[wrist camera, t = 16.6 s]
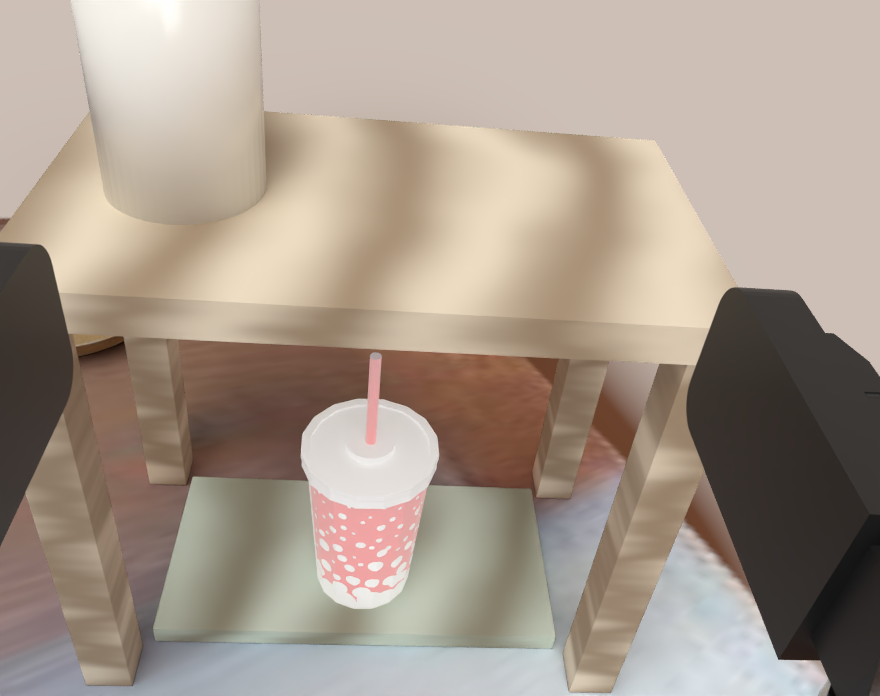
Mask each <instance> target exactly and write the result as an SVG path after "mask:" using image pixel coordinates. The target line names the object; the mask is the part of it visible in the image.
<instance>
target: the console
mask: <svg viewBox="0 0 880 696" xmlns="http://www.w3.org/2000/svg"><path fill="white" fill-rule="evenodd" d="M264 130H265V156H266V181H267V187H266V192H265V194H264V196H263V197H262V199H261V200H260V201H259V202H258V203H257V204H256V205H254V206H253V207H252V208H250V209H248V210H247V211H245V212H243V213H241V214H238V215H236V216H233V217H230V218H227V219H224V220H219V221H215V222H209V223H203V224H193V225H169V224H159V223H153V222H147V221H143V220H139V219H136V218H133V217H130V216H128V215H126V214H124V213H122V212H120V211H118V210H117V209H115V208H114V207H113V206H112V205H110V203H109V202H108V201H107V200H106V197H105V195H104V190H103V184H102V179H101V173H100V167H99V162H98V156H97V150H96V144H95V139H94V133H93V127H92V122H91V116H90V112H89V113H88V114H87V116H86V117H85V118H84V120H83V121H82V122H81V124H80V125H79V127H78V128H77V129H76V131H75V132H74V133H73V135H72V136H71V137H70V139H69V140H68V141H67V143H66V144H65V145H64V147H63V148H62V150H61V151H60V152H59V154H58V155H57V157H56V158H55V159H54V161H53V162H52V163H51V165H50V166H49V167H48V169H47V170H46V171H45V173H44V174H43V175H42V177H41V178H40V179H39V181H38V182H37V184H36V185H35V186H34V188H33V189H32V190H31V192H30V193H29V195H28V196H27V197H26V198H25V200H24V201H23V202H22V204H21V205H20V207H19V208H18V209H17V211H16V212H15V213H14V215H13V216H12V217H11V219H10V220H9V221H8V223H7V224H6V226H5V227H4V228H3V230H2V231H1V232H0V242H9V243H26V244H39V245H42V246H43V247H44V248H45V249H46V250H47V252H48V253H49V256H50V258H51V261H52V265H53V269H54V274H55V278H56V282H57V287H58V291H59V295H60V300H61V304H62V308H63V313H64V317H65V322H66V326H67V330H68V335H69V339H70V343H71V348H72V353H73V381H72V388H71V392H70V396H69V399H68V402H67V404H66V407H65V409H64V411H63V413H62V415H61V417H60V419H59V422H58V424H57V426H56V428H55V430H54V432H53V434H52V437H51V439H50V441H49V443H48V445H47V447H46V449H45V452H44V454H43V456H42V458H41V460H40V462H39V464H38V467H37V469H36V471H35V473H34V475H33V477H32V479H31V482H30V484H29V486H28V488H27V490H26V492H25V494H26V497H27V500H28V503H29V506H30V510H31V513H32V516H33V519H34V522H35V525H36V528H37V532H38V535H39V538H40V541H41V544H42V547H43V551H44V554H45V557H46V560H47V563H48V566H49V569H50V573H51V576H52V579H53V582H54V585H55V588H56V591H57V595H58V598H59V601H60V604H61V607H62V610H63V614H64V617H65V620H66V623H67V626H68V629H69V632H70V636H71V639H72V642H73V645H74V648H75V651H76V654H77V658H78V661H79V664H80V667H81V670H82V673H83V677H84V680H85V683H86V685H107V686H132V685H133V681H134V677H135V674H136V670H137V666H138V663H139V659H140V655H141V651H142V648H143V643H142V639H141V634H140V630H139V625H138V621H137V617H136V612H135V608H134V603H133V599H132V594H131V590H130V586H129V581H128V577H127V572H126V568H125V563H124V559H123V555H122V550H121V546H120V541H119V537H118V532H117V528H116V524H115V519H114V515H113V510H112V506H111V501H110V497H109V492H108V488H107V484H106V479H105V475H104V470H103V466H102V461H101V457H100V453H99V448H98V444H97V439H96V435H95V430H94V426H93V422H92V417H91V413H90V408H89V404H88V399H87V395H86V391H85V386H84V382H83V377H82V373H81V368H80V364H79V359H78V355H77V351H76V346H75V342H74V337H73V334H84V335H104V336H123V337H124V342H125V348H126V354H127V359H128V365H129V370H130V376H131V382H132V387H133V393H134V398H135V404H136V410H137V415H138V421H139V426H140V432H141V438H142V443H143V449H144V454H145V460H146V466H147V471H148V477H149V482H150V484H166V485H186V484H187V481H188V477H189V473H190V469H191V466H192V462H193V454H192V446H191V438H190V430H189V423H188V415H187V407H186V399H185V391H184V383H183V376H182V368H181V360H180V352H179V344H178V339H183V340H203V341H223V342H243V343H263V344H283V345H302V346H322V347H342V348H362V349H382V350H402V351H421V352H441V353H461V354H481V355H501V356H521V357H541V358H559V361H558V365H557V369H556V373H555V378H554V382H553V386H552V390H551V394H550V399H549V403H548V407H547V411H546V416H545V420H544V424H543V428H542V433H541V437H540V441H539V445H538V450H537V454H536V458H535V462H534V467H533V471H532V474H533V480H534V486H535V492H536V498H562V499H570V497H571V494H572V490H573V487H574V483H575V480H576V476H577V473H578V469H579V466H580V462H581V459H582V455H583V452H584V448H585V445H586V441H587V437H588V434H589V430H590V427H591V423H592V420H593V416H594V413H595V409H596V406H597V402H598V399H599V395H600V392H601V388H602V385H603V381H604V378H605V374H606V371H607V367H608V363H609V361H621V362H640V363H641V362H642V363H659V367H658V370H657V373H656V376H655V379H654V382H653V385H652V388H651V391H650V394H649V397H648V400H647V403H646V406H645V409H644V412H643V415H642V418H641V421H640V424H639V427H638V430H637V433H636V436H635V439H634V442H633V445H632V448H631V451H630V454H629V457H628V460H627V463H626V466H625V469H624V472H623V474H622V477H621V480H620V483H619V486H618V489H617V492H616V495H615V498H614V501H613V504H612V507H611V510H610V513H609V516H608V519H607V522H606V525H605V528H604V531H603V534H602V537H601V540H600V543H599V546H598V549H597V552H596V555H595V558H594V561H593V564H592V567H591V570H590V573H589V576H588V579H587V582H586V585H585V588H584V591H583V594H582V597H581V600H580V603H579V606H578V609H577V612H576V615H575V618H574V621H573V624H572V627H571V630H570V633H569V636H568V639H567V642H566V645H565V648H564V651H563V658H564V664H565V670H566V676H567V682H568V688H569V692H592V693H611V691H612V689H613V686H614V684H615V682H616V679H617V677H618V674H619V672H620V670H621V667H622V665H623V662H624V660H625V658H626V655H627V653H628V651H629V648H630V646H631V643H632V641H633V639H634V636H635V634H636V632H637V629H638V627H639V624H640V622H641V620H642V617H643V615H644V613H645V610H646V608H647V605H648V603H649V601H650V598H651V596H652V594H653V591H654V589H655V586H656V584H657V582H658V579H659V577H660V575H661V572H662V570H663V567H664V565H665V563H666V560H667V558H668V556H669V553H670V551H671V548H672V546H673V544H674V541H675V539H676V536H677V534H678V532H679V529H680V527H681V525H682V522H683V520H684V517H685V515H686V513H687V510H688V508H689V505H690V503H691V501H692V498H693V496H694V494H695V491H696V489H697V487H698V484H699V482H700V479H701V477H702V475H703V472H704V468H703V465H702V462H701V460H700V457H699V455H698V452H697V450H696V447H695V444H694V442H693V439H692V437H691V434H690V431H689V428H688V423H687V414H686V401H687V392H688V387H689V384H690V380H691V378H692V375H693V372H694V369H695V367H696V364H697V361H698V359H699V356H700V353H701V351H702V348H703V345H704V342H705V340H706V337H707V334H708V332H709V329H710V326H711V324H712V321H713V318H714V315H715V313H716V310H717V307H718V305H719V302H720V300H721V298H722V296H723V295H724V294H725V292H726V291H727V290H729V289H730V288H733V287H738V286H737V284H736V283H735V281H734V279H733V278H732V276H731V274H730V272H729V270H728V269H727V267H726V265H725V263H724V262H723V260H722V258H721V256H720V255H719V253H718V251H717V249H716V247H715V246H714V244H713V242H712V240H711V239H710V237H709V235H708V233H707V231H706V230H705V228H704V226H703V225H702V223H701V221H700V219H699V218H698V216H697V214H696V212H695V210H694V209H693V207H692V205H691V203H690V201H689V200H688V198H687V196H686V194H685V193H684V191H683V189H682V187H681V186H680V184H679V182H678V180H677V178H676V177H675V175H674V173H673V171H672V170H671V168H670V166H669V164H668V163H667V161H666V159H665V157H664V155H663V154H662V152H661V150H660V148H659V147H658V145H657V143H656V141H653V140H640V139H627V138H613V137H600V136H587V135H572V134H559V133H546V132H533V131H520V130H506V129H493V128H480V127H465V126H453V125H440V124H426V123H412V122H399V121H386V120H372V119H359V118H345V117H332V116H319V115H305V114H292V113H279V112H266V111H264ZM153 633H154V638H155V641H177V642H229V643H282V644H334V645H386V646H439V647H491V648H544V649H552V647H553V644H554V641H555V630H554V624H553V618H552V612H551V606H550V600H549V594H548V588H547V582H546V576H545V570H544V563H543V557H542V551H541V545H540V539H539V533H538V527H537V521H536V515H535V509H534V502H533V496H532V490H531V489H520V488H492V487H465V486H437V485H429V486H428V487H427V490H426V495H425V499H424V504H423V509H422V513H421V518H420V523H419V527H418V532H417V536H416V541H415V546H414V550H413V555H412V560H411V564H410V569H409V574H408V578H407V580H406V582H405V585H404V587H403V589H402V591H401V592H400V593H399V594H398V595H397V596H396V597H395V598H393V599H392V600H391V601H390V602H389V603H386V604H384V605H381V606H378V607H375V608H373V609H353V608H350V607H347V606H344V605H342V604H339V603H336V602H335V601H334V600H333V599H332V598H331V597H329V596H328V595H327V594H326V593H325V592H324V591H323V588H322V586H321V584H320V582H319V579H318V576H317V565H316V555H315V544H314V533H313V523H312V512H311V501H310V491H309V481H299V480H271V479H244V478H216V477H193V478H192V482H191V486H190V489H189V493H188V497H187V501H186V505H185V508H184V512H183V516H182V520H181V524H180V527H179V531H178V535H177V539H176V542H175V546H174V550H173V554H172V558H171V561H170V565H169V569H168V573H167V577H166V580H165V584H164V588H163V592H162V596H161V599H160V603H159V607H158V611H157V615H156V618H155V622H154V626H153Z"/></svg>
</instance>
